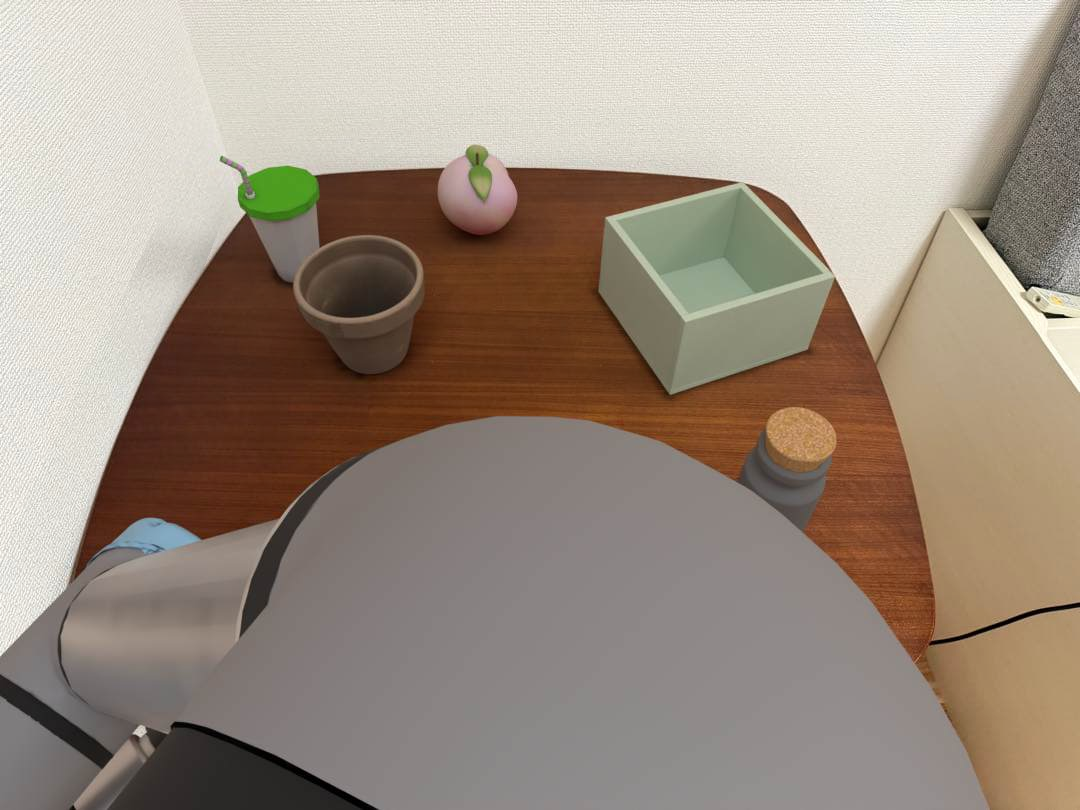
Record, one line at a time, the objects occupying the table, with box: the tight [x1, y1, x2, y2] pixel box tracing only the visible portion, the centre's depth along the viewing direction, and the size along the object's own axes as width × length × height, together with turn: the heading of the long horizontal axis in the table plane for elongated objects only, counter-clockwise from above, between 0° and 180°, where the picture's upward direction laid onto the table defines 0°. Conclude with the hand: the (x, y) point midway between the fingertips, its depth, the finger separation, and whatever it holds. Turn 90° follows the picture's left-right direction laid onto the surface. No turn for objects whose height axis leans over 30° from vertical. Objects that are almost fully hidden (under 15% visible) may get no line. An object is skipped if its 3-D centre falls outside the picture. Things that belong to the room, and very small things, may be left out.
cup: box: [219, 155, 321, 284], centre depth 82 cm, size 8×8×15 cm
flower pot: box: [292, 234, 426, 375], centre depth 76 cm, size 12×11×10 cm
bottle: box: [736, 406, 837, 533], centre depth 61 cm, size 6×6×15 cm
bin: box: [597, 181, 836, 396], centre depth 80 cm, size 16×16×10 cm
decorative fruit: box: [437, 144, 518, 236], centre depth 89 cm, size 9×8×10 cm
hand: (448, 552), depth 58 cm, fingers open, 13 cm apart
